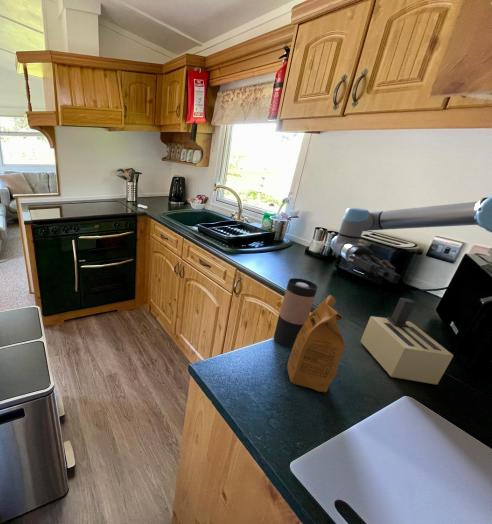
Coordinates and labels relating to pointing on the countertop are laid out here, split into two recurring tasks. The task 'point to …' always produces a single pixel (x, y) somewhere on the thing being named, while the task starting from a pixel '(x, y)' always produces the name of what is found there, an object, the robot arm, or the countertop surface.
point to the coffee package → (317, 349)
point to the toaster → (405, 351)
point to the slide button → (401, 312)
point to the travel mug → (294, 311)
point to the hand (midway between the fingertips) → (396, 279)
